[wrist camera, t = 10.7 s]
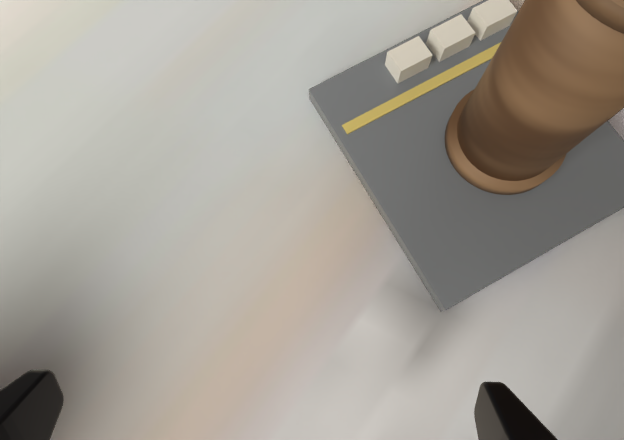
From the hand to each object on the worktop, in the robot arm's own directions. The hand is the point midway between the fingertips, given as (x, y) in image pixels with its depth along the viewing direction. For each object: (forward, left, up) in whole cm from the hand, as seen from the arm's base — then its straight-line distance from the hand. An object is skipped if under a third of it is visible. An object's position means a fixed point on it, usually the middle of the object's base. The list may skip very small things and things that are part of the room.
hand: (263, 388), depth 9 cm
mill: (+5, -15, -13) cm, 20 cm away
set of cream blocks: (+11, -16, -13) cm, 23 cm away
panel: (+6, -14, -14) cm, 20 cm away
